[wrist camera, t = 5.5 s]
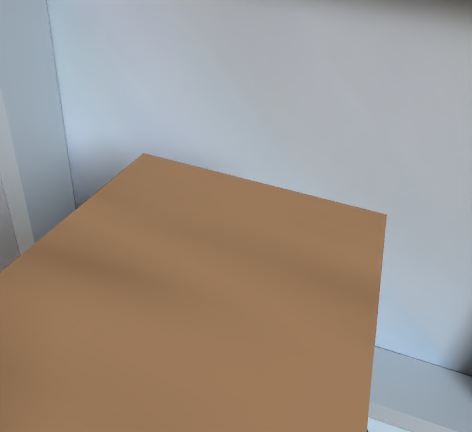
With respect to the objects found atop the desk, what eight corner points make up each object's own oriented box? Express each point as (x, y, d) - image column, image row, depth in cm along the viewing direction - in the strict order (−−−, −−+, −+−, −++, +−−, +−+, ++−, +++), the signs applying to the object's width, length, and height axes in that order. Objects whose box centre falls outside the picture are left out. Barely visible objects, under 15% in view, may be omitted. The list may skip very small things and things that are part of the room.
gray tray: (908, -79, 9) (1082, -81, 7) (514, 406, 19) (529, 473, 17) (-3, -162, 14) (-88, -180, 12) (68, 263, 24) (31, 299, 22)
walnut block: (313, 421, 12) (248, 741, 7) (150, 362, 13) (0, 607, 8) (386, 214, 8) (349, 622, 3) (143, 153, 9) (-148, 395, 4)
